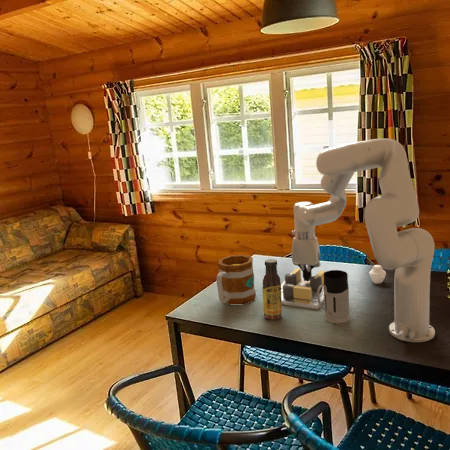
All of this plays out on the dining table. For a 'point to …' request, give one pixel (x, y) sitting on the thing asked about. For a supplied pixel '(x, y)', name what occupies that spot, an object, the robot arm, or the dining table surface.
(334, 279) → the glass holder
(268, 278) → the sauce bottle
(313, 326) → the dining table surface
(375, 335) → the dining table surface
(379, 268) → the white carved ornament
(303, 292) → the knob front
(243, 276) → the mug
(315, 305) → the base plate
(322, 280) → the knob right
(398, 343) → the dining table surface
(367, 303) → the dining table surface
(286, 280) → the knob left
